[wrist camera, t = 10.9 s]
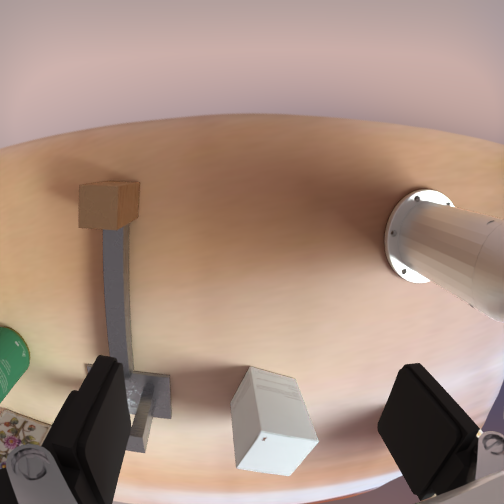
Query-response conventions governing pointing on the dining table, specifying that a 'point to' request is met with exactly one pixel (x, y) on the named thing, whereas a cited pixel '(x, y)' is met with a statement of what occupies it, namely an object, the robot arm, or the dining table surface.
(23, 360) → the beverage can
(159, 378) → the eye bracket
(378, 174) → the dining table surface
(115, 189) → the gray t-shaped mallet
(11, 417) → the decorative jar
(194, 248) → the dining table surface
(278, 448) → the supplement box
